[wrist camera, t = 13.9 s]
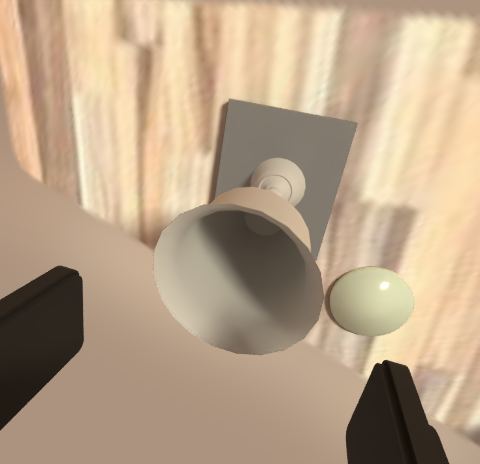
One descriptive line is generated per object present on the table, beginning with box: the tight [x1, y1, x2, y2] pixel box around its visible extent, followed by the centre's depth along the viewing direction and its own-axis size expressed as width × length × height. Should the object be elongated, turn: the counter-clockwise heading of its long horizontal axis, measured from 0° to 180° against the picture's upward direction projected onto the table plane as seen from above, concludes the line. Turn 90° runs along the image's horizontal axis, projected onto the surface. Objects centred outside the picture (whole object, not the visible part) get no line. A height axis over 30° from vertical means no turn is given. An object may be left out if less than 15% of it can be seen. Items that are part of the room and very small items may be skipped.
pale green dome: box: [330, 266, 414, 336], centre depth 33 cm, size 8×8×1 cm
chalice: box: [153, 158, 324, 355], centre depth 21 cm, size 7×7×18 cm
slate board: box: [214, 99, 358, 260], centre depth 30 cm, size 11×13×1 cm
